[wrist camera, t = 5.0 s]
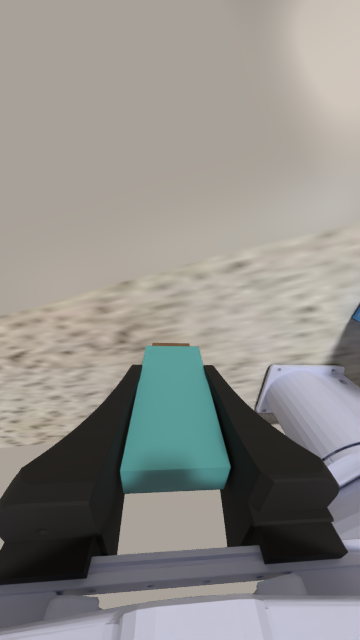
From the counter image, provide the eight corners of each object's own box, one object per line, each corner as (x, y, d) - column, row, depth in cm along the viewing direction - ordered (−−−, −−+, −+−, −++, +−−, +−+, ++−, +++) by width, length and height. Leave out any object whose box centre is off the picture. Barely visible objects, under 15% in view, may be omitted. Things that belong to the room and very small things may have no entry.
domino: (146, 345, 14) (119, 471, 6) (198, 346, 14) (230, 467, 7) (146, 362, 14) (123, 493, 7) (196, 363, 14) (223, 489, 7)
